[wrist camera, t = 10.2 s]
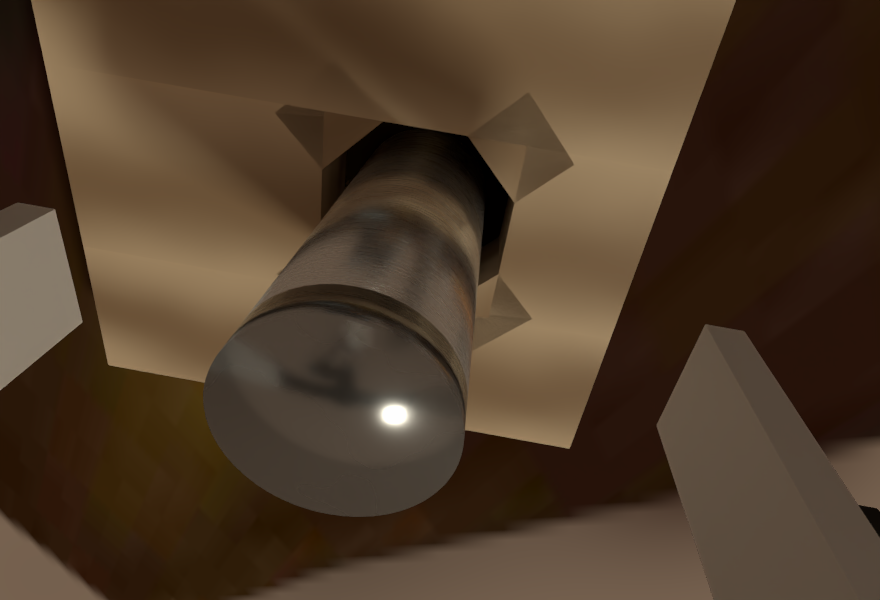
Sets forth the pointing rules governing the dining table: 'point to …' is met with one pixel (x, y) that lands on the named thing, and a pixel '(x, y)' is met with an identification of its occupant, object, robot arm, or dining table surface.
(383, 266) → the grey metallic cylinder
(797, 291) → the dining table surface
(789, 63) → the dining table surface
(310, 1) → the jig
